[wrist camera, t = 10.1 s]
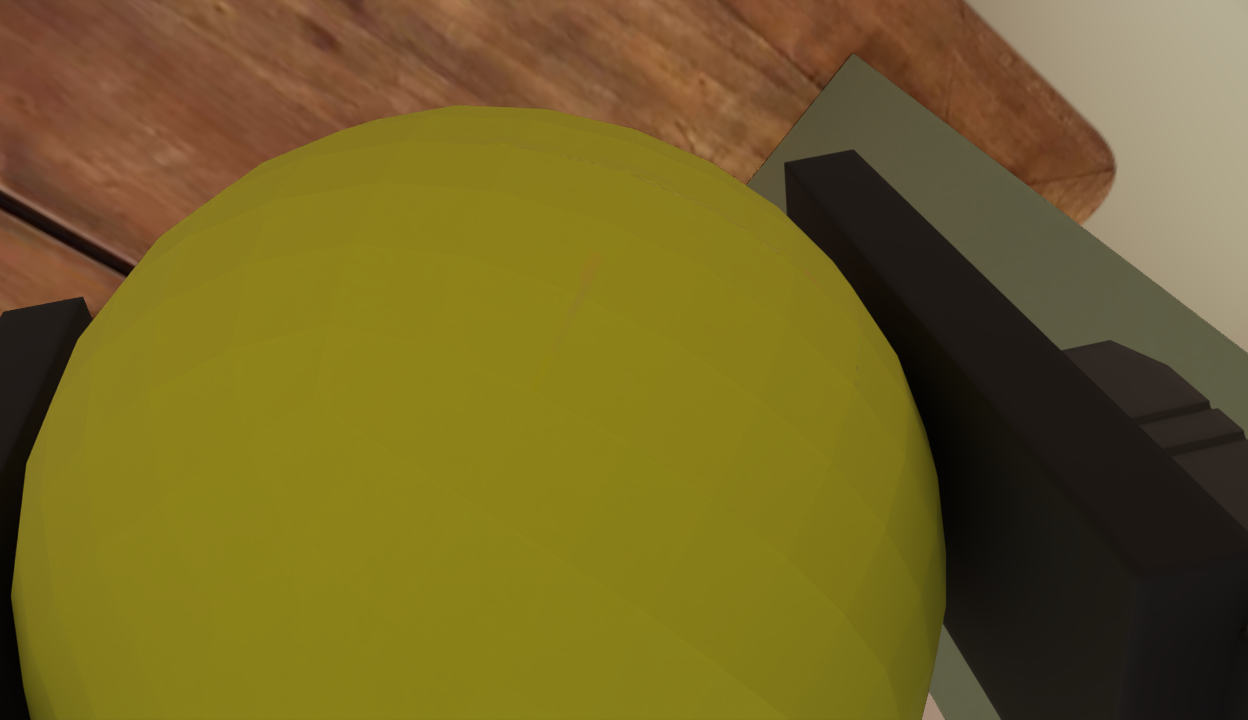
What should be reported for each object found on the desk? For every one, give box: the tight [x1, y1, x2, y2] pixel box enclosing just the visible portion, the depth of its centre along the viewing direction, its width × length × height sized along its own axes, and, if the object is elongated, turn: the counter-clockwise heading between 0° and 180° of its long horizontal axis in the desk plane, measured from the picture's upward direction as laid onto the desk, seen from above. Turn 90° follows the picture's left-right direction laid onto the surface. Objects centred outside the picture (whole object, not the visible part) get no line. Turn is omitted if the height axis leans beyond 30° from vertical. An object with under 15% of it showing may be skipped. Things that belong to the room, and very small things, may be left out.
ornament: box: [11, 105, 946, 720], centre depth 8 cm, size 7×7×10 cm
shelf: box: [746, 54, 1248, 720], centre depth 42 cm, size 12×12×32 cm
